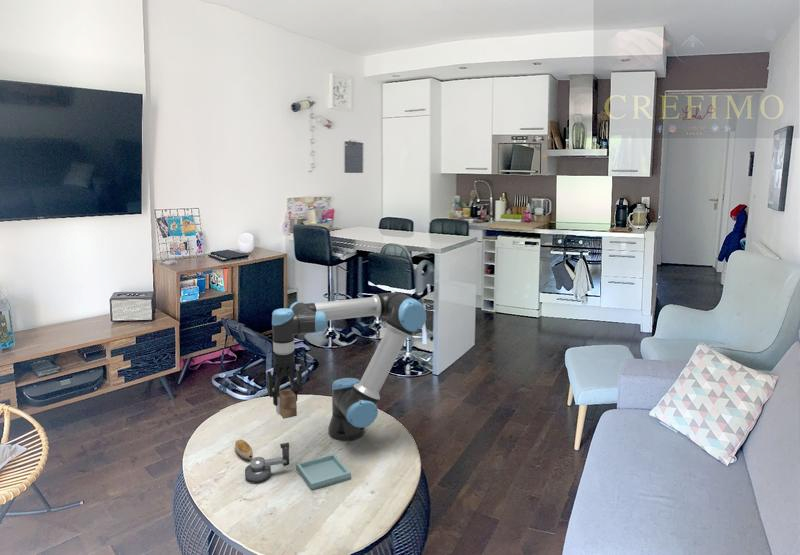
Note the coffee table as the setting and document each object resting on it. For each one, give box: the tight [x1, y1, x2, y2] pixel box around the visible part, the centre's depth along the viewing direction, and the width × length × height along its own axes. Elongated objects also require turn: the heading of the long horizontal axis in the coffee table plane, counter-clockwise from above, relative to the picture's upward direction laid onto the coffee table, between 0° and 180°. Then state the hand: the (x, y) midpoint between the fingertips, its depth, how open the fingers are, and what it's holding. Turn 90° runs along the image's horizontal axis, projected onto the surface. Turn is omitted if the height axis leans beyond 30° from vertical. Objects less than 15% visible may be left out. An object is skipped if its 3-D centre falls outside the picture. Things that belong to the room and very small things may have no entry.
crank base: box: [244, 464, 272, 485], centre depth 202 cm, size 10×9×3 cm
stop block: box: [278, 388, 298, 420], centre depth 206 cm, size 5×7×8 cm
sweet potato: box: [234, 439, 254, 461], centre depth 217 cm, size 5×14×4 cm, turn 32°
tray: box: [295, 453, 352, 491], centre depth 204 cm, size 15×15×2 cm
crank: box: [249, 442, 290, 472], centre depth 202 cm, size 14×5×8 cm, turn 110°
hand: (285, 411), depth 208 cm, fingers closed on stop block, 5 cm apart
